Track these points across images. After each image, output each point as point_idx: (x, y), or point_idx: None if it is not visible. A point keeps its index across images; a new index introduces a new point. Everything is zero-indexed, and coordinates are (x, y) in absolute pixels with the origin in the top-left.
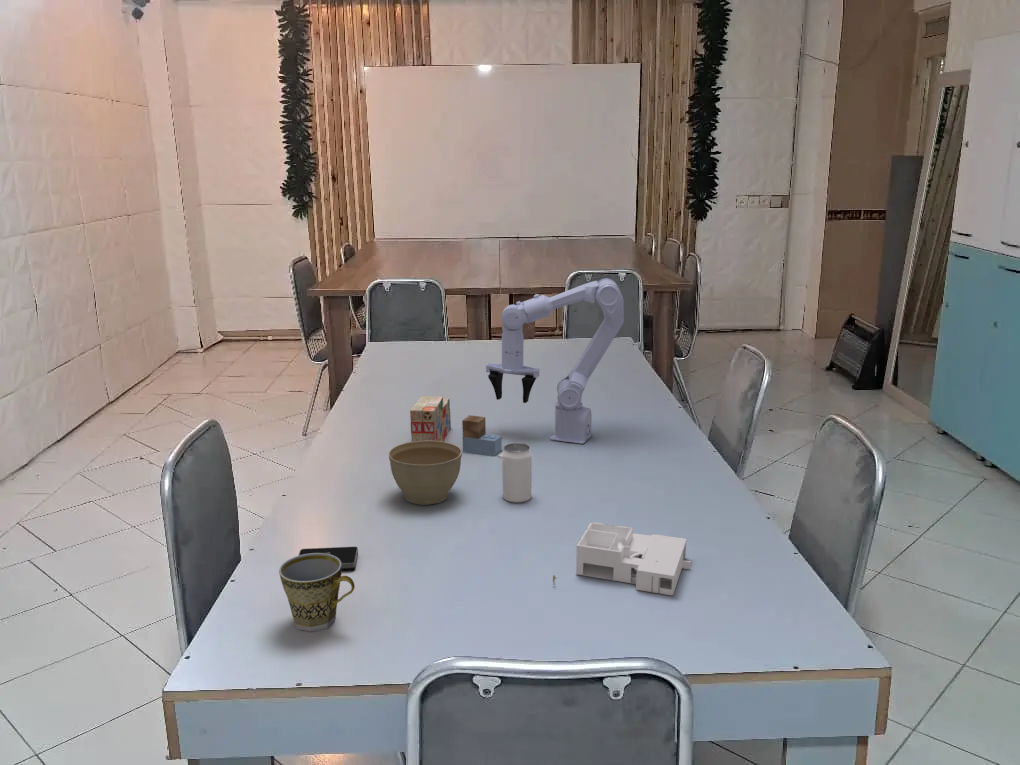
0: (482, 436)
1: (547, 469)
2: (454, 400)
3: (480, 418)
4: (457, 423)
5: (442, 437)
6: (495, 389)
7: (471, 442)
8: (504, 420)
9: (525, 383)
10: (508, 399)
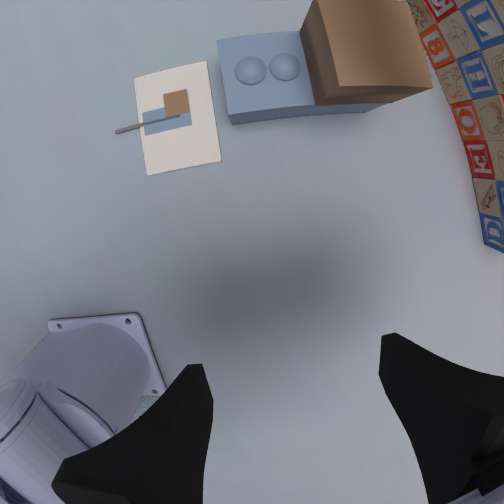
0: (304, 65)
1: (29, 81)
2: None
3: (348, 51)
4: (481, 298)
5: (463, 109)
6: (434, 361)
7: None
8: (372, 393)
9: (114, 458)
10: (402, 476)
